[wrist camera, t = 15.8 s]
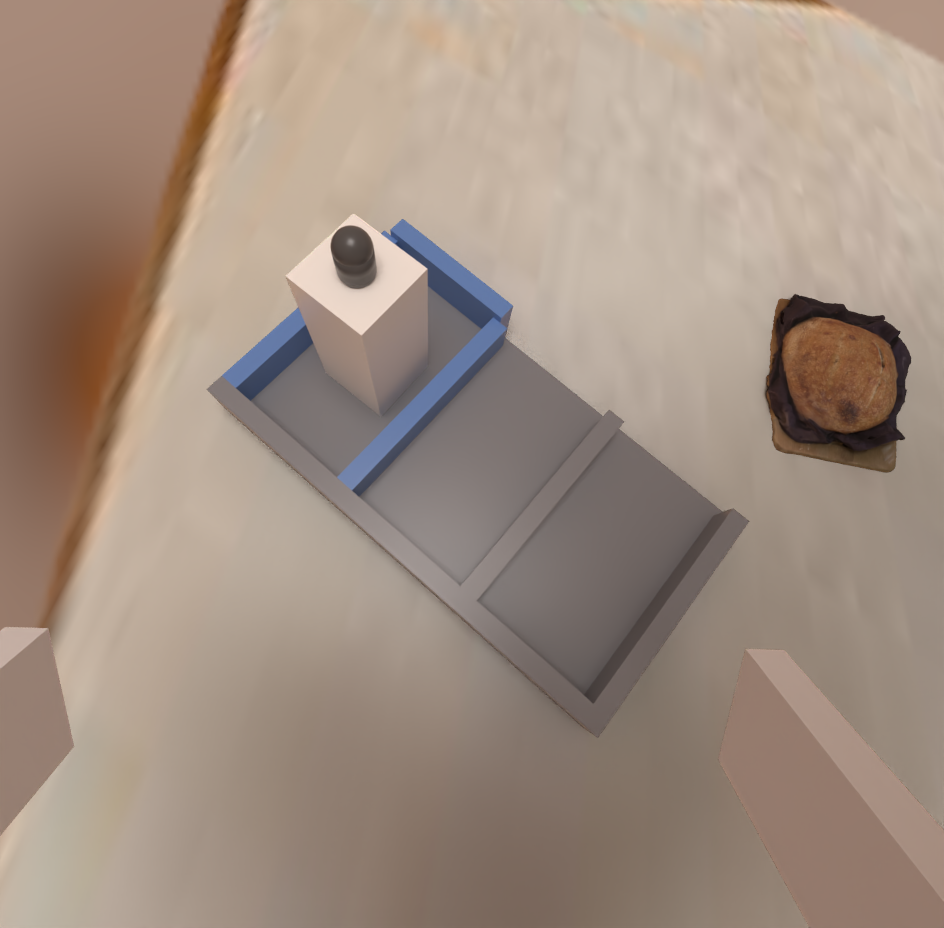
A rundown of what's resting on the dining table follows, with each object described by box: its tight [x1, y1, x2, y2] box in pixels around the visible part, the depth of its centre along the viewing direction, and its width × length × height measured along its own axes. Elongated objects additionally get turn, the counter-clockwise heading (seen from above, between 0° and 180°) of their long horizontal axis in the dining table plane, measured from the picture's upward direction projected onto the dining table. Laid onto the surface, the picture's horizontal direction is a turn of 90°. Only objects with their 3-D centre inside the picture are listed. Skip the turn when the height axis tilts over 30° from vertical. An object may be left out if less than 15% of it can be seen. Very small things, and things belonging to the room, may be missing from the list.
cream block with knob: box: [285, 213, 428, 416], centre depth 25 cm, size 4×4×11 cm
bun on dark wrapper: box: [767, 294, 911, 472], centre depth 32 cm, size 11×8×4 cm
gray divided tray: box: [207, 219, 749, 737], centre depth 29 cm, size 14×25×3 cm, turn 49°
